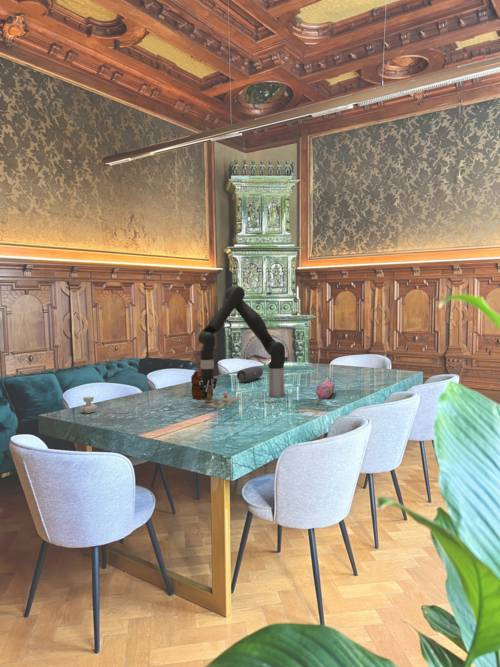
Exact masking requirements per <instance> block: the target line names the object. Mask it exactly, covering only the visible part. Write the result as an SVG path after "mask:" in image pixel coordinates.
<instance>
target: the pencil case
mask: <svg viewBox="0 0 500 667" xmlns="http://www.w3.org/2000/svg"><path fill="white" fill-rule="evenodd" d="M335 386H336V385H335V383H334V381H332V380H331V379H329V378H327V379H325V380H323V381H322V383H321V384H319V385H318V386H317V387H316V389H315V390H316V391H315V393H316V395H317V398H319V399H321V398H324V399H323V400H325V399H328V398H329V397H330V396H331V395H332V393H333V392H334V391H335ZM321 400H322V399H321Z"/></svg>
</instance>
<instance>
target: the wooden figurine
mask: <svg viewBox="0 0 500 667" xmlns="http://www.w3.org/2000/svg"><path fill="white" fill-rule="evenodd" d="M190 379H191V380H190V381H191V396H192V397H191V398H192V400H196V401H197V400H200V401H201V400H205V398H204V397H203V391H200V388H199V384H198V381H201V380H202V376H201V368H197V369H196V370H195V371H194V372H193V374H192V375H191V377H190Z"/></svg>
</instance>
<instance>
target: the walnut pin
mask: <svg viewBox="0 0 500 667" xmlns="http://www.w3.org/2000/svg"><path fill="white" fill-rule="evenodd" d="M212 399H213V398H212V391H211V386H210V385H208V388H207V398H205V399H204V401H210V400H212Z"/></svg>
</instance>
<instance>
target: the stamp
mask: <svg viewBox="0 0 500 667" xmlns="http://www.w3.org/2000/svg"><path fill="white" fill-rule="evenodd" d="M94 399H95V397H94V396H86V397H85V396H84V397H82V400H83V402H85V404H83V405H80V407H79V408H80V411H81V412H83V413H85V414H91V412H92V413H95V412H96V411H97V409H98V405H96V404H93V403H92V402H93V401H94Z"/></svg>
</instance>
